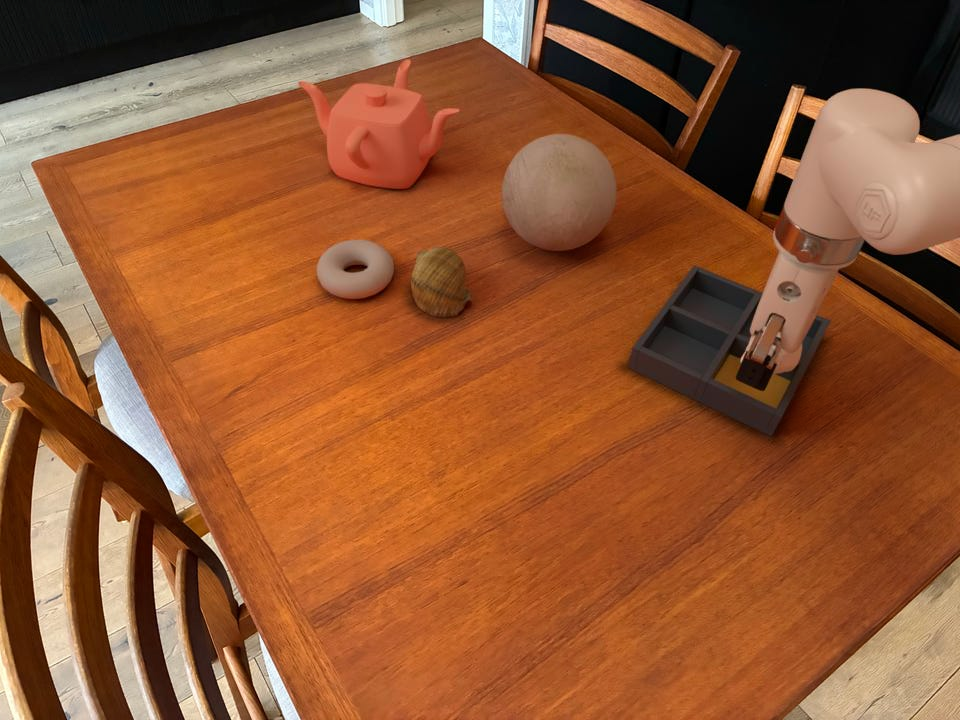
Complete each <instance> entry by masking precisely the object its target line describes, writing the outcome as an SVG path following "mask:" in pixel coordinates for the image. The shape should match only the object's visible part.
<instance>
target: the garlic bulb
mask: <svg viewBox="0 0 960 720" xmlns="http://www.w3.org/2000/svg"><path fill="white" fill-rule="evenodd" d="M765 328H766V327H764V329H763V331H764V330H765ZM754 337H755V335H754V336H753V337H752V336H751V339H750V341H749V344H748V346H747V348H746V351H748V350H749V348H750V346H751V344H752V342H753V340H754ZM777 337H779V338H781V334H780V333H778V335H777ZM775 348H776V346H775V345H772V347H771V349H770V351H769V353H768V355H770V356H772V354H773V352H774V350H775ZM746 351H745V353H746ZM801 352H802V344H801V345H800V347H799V349H798V350H797V351H795V352H793V353H789V352H788V351H785V350H783V349H781V351H780V353H779V355H778V357H777V359H776V361H775V363H776V364H777V366H776V368H775V370H774V372H773V374H778V373H783V372H788V371H792V370H793V369H794V368H795V367H796V365H797V364H798V362H799V360H800V357H801ZM745 353H744V354H743V356H742V357H741V360H740V362H741V363H742V360H743V358H744V355H745Z"/></svg>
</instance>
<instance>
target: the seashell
mask: <svg viewBox="0 0 960 720" xmlns="http://www.w3.org/2000/svg"><path fill="white" fill-rule="evenodd" d="M465 265H466V264H465V263H464V260H462V258H461V256H460V255H458V253H457V252H456V251H454V250H452V249H450V248H448V247H445V246H435V247H433V248H430V249H427V250H423V251H418V252H417V255H416V261H415V262H414V268H413V270H412V273H411V276H410V289H411V292H412V293H411V294H412V298H413V301H414V303H415V305H416V306H417V307H418V309H420V310H421V311H422V312H423V313H425V314H428V315H430V316H433V317H435V318H444V319H445V318H453V317H457V316H458V315H459V314H460V312H461V311H462V310H463V309H464V308H465V305H466V304H467V302H468V303H473V299H472V293H471V291H470V290H469V289H467V286H466V278H467V270H466V266H465Z"/></svg>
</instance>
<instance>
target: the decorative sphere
mask: <svg viewBox="0 0 960 720" xmlns="http://www.w3.org/2000/svg"><path fill="white" fill-rule="evenodd" d="M617 193H618V191H617V180H616V176H615V172H614V169H613V167H612V166H611V163H610V161H609V159H608V158H607V157H606V155H605V154H604V153H603V152H602V151H601V149H600V148H599V147H597V146H596V145H595V144H594V143H592V142H591V141H589V140H587V139H585V138H583V137H580V136H578V135H575V134H569V133H551V134H548V135H547V134H546V135H544V136H541V137H538V138H536V139H534V140H532V141H530V142H528V143H527V144H526V145H525V146H523V147H522V148H520V150H519V151H518V152H517V153H516V154H515V155H514V157H513V158H512V159H511V161H510V162H509V164H508V166H507V168H506V171H505V174H504V177H503V180H502V184H501V202H502V208H503V211H504V214H505V217H506V220H507V221H508V223H509V225H510V227H511V228H512V229H513V231H514V232H515V233H516V234H517V236H519V237H520V238H521V239H522V240H524V241H525V242H527V243H528V244H530V245H532V246H534V247H536V248H538V249H542V250H544V251H545V250H546V251H550V252H564V251H565V252H566V251H570V250H573V249H576V248H577V249H578V248H580V247H582V246H585V245H586V244H588V243H589V242H590V241H593V239H595V238H596V237H598V236H599V234H600V233H602V232H603V230H604V229H605V227H606V226H607V225H608V223H609V221H610V219H611V217H612V215H613V212H614V210H615V207H616V203H617Z"/></svg>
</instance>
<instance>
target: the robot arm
mask: <svg viewBox="0 0 960 720" xmlns="http://www.w3.org/2000/svg"><path fill="white" fill-rule="evenodd" d="M920 124H921V121H920V117H919V114H918V112H917V110H916V109H915V108H914V107H913V106H912V105H911V104H910V103H909V102H908V101H906V99H903V98H901V97H899V96H897V95H895V94H893V93H889V92H888V91H887V92H886V91H883V90H879V89H873V88H850V89H846V90H843V91H840V92H839V91H838V92H837V93H835V94H834V95H832V96H830V98H828V99H827V101H825V103H823V105H822V107H821V108H820V110H819V112H818V115H817V117H816V119H815V121H814V125H813V127H812V129H811V132H810V135H809V137H808V140H807V143H806V145H805V147H804V151H803V153H802V156H801V159H800V161H799V164H798V167H797V169H796V171H795V174H794V177H793V180H792V182H791V185H790V188H789V190H788V193H787V194H786V195H787V196H786V198H785V201H784V203H783V206H782V209H781V211H780V213H779V217H778V219H777V221H776V224H775V227H774V229H773V233H772V241H773V243H774V245H775V247H776V249H777V250H778V254H777V257H776V259H775V261H774V263H773V265H772V268H771V271H770V274H769V276H768V278H767V281H766V283H765V286H764V288H763V291H762V293H763V294H762V296H761V299H760V302H759V304H758V307H757V310H756V313H755V315H754V318H753V321H752V324H751V327H750V333H751V335H752V337H753V336H754V335H755V337H754V340H753V342H752V344H751V346H750V348H749V350H748V351H746V353H745V355H744V358H743V360H742V363H741V365H740V367H739V370H738V372H737V375H736V380H738V381H740V382H742V383H744V384H746V385H749V386H751V387H753V388H755V389H757V390H760V391H765V389H766V387H767V385H768V383H769V381H770V379H771V377H772V374H773V372H774V370H775V368H776V366H777V364H776V363H775V361H776V359H777V357H778V355H779V353H780V351H781V349H783V350H785V351H788V352H789V353H793V352H795V351H797V350H798V349H799V347H800V345H801V344H802V342H803V340H804V338H805V336H806V334H807V333H808V331H809V329H810V327H811V325H812V323H813V321H814V319H815V318H816V316H817V315H819V312H820V310H821V308H822V306H823V303H824V302H825V299H826V297H827V295H828V293H829V291H830V289H831V287H832V285H833V283H834V281H835V279H836V277H837V275H838V273H839V270H840V269H844V268H846V267H849V266H850V265H852V264H853V263H854V262H855V261H856V260H857V258H858V256H859V254H860V252H861V250H862V248H863V246H864V244H865V242H866V243H867V244H869V246H871V247H873V248H874V249H876V250H877V251H879V252H882V253H884V254H888V255H896V256H898V255H908V254H913V253H917V252H920V251H924V250H926V249H930V248H933V247H935V246H938V245H942V244H945V243H948V242H951V241H953V240H956V239H960V133H959V134H955V135H952V136H949V137H945V138H940V139H938V140H935V141H930V142H916V140H917V138H918V135H919V133H920V127H921V125H920ZM764 327H766V328H765V330H764V331H763V329H764ZM778 333H780V334H781V338H779V337H777V335H778ZM772 345H775V346H776V348H775V350H774V352H773V354H772V356H770V355H768V353H769V351H770V349H771V347H772Z"/></svg>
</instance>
